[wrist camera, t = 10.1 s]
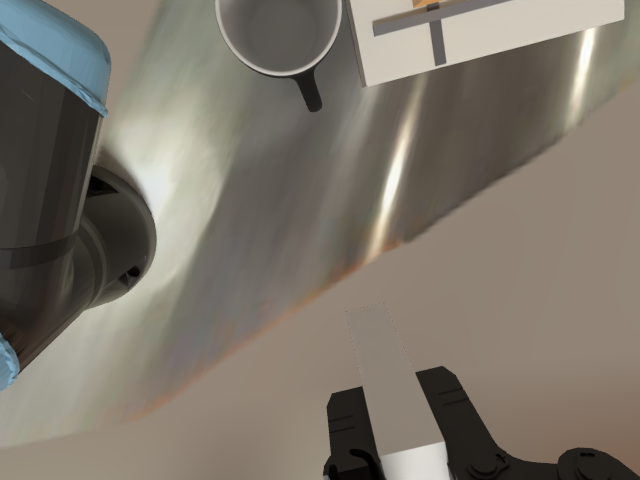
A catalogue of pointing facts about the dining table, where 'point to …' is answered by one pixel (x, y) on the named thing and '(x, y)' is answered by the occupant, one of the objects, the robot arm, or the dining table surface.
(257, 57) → the mug
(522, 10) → the console
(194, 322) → the dining table surface
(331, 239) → the dining table surface
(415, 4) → the fader cap
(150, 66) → the dining table surface
